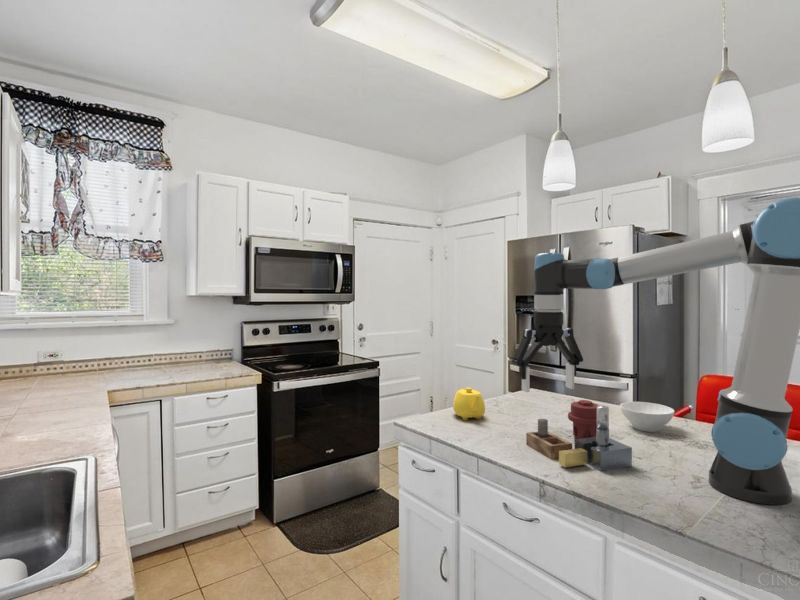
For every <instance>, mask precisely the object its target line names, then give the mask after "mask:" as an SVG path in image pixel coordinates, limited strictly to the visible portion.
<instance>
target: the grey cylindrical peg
mask: <svg viewBox="0 0 800 600" xmlns="http://www.w3.org/2000/svg"><path fill="white" fill-rule="evenodd" d="M609 413H610V408H609V406H606V405H599V406H597V428H596V447H598V446H601V447H605V446H609V438H610V428H609V425H610V424H609V422H610V419H609V418H610V415H609Z"/></svg>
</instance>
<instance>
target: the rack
mask: <svg viewBox="0 0 800 600" xmlns="http://www.w3.org/2000/svg"><path fill="white" fill-rule="evenodd" d="M548 422H549V421H548V419H547V418H538V419H537V431H531V432H526V436H525V437H526V438H525V439H526V440H525V441H526V445H527V446H529V447H530V448H532V449H534V450H535V451H537V452H538V453H540V454H542V455H544V456H546V457H547V458H549V459H550V460H551V459H559V451H563V450H570V449H573V443H572V442H570V441H568V440H566V439H564V438H562V437H560V436H558V435H556V434H554V433H552V432H550V431H549V429H548V428H549V427H548V426H549V423H548Z"/></svg>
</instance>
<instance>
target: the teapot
mask: <svg viewBox="0 0 800 600" xmlns="http://www.w3.org/2000/svg"><path fill="white" fill-rule="evenodd" d="M452 404H453V405H452V407H453V408H452V409H453V411H454V413H455V414H456V416H458V417H461V420H462V421H468V420H469V418H475V419H476V420H481V419H482V417H483V416H484V415H485V414H486V405H485V401H484V398H483V396H482V393H481V392H480V391H478V390H475V389H473V387H465V388H460V389H459V390H457V391H456V393H455V396H454V399H453V403H452Z"/></svg>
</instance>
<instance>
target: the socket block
mask: <svg viewBox="0 0 800 600" xmlns="http://www.w3.org/2000/svg"><path fill="white" fill-rule="evenodd" d="M578 448H582V449H584V450H586V451H587V462H590V466H591V467H592V468H594V469H596V470H597V471H599V472H605V471H611V470H617V469H618V470H619V469H624V468H629V467H630V468H632V466H633V447H631V446H628V445H626V444H624V443H622V442H620V441H617V440H615V439H612V438H611V437H609V446H605V447H601V446H598V447H596V437H590V438H582V439H574V449H578Z"/></svg>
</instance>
